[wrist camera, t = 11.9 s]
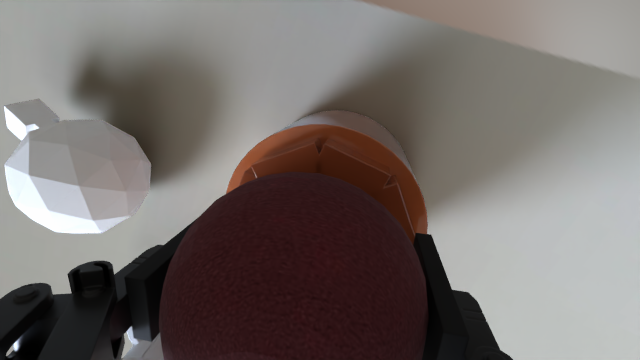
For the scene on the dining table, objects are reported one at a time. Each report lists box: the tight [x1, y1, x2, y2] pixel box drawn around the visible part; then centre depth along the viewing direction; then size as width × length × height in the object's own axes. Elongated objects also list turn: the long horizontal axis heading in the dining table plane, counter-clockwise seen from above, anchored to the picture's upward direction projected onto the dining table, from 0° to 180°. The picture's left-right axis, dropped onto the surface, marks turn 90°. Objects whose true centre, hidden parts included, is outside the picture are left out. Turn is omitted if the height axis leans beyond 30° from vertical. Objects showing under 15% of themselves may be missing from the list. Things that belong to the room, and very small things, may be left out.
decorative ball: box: [159, 172, 429, 360], centre depth 13 cm, size 10×10×10 cm
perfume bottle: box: [4, 99, 151, 233], centre depth 24 cm, size 9×9×12 cm
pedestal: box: [226, 110, 428, 244], centre depth 21 cm, size 12×12×10 cm
